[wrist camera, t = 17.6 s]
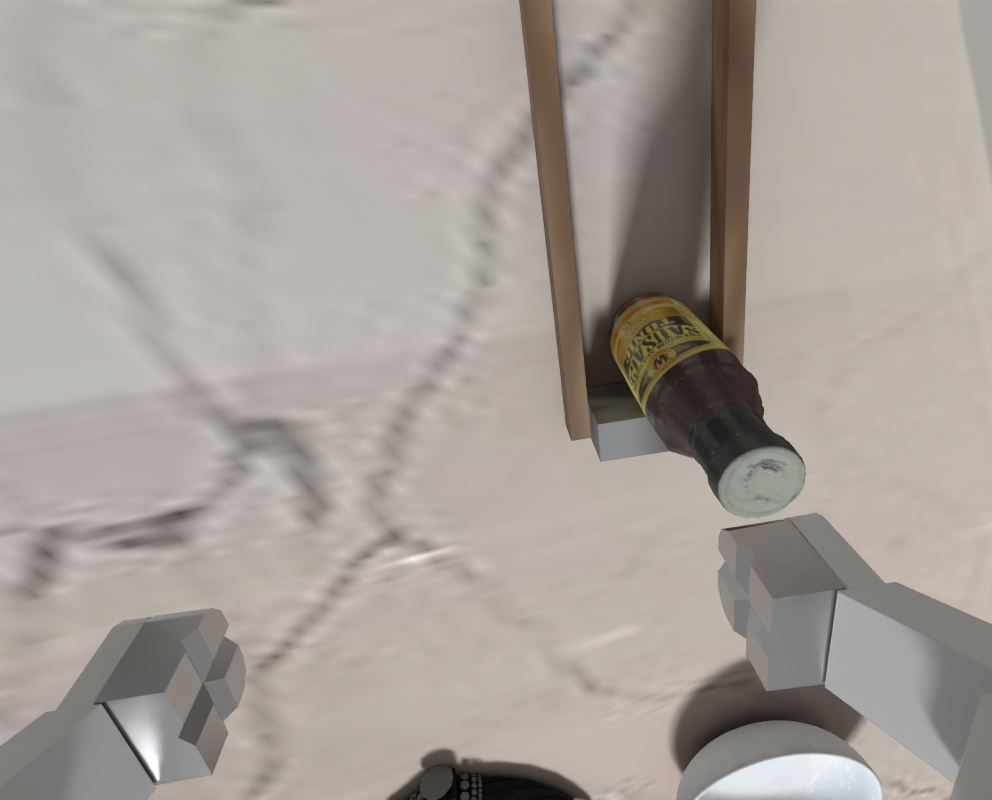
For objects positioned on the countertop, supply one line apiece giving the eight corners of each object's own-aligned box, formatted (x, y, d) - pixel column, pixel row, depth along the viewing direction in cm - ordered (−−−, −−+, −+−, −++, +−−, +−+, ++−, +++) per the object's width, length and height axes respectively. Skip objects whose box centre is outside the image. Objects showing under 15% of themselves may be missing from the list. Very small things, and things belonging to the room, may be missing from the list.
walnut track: (566, 425, 47) (579, 465, 42) (516, -26, 34) (526, -53, 29) (727, 400, 47) (762, 436, 42) (738, -64, 34) (791, -98, 29)
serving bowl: (622, 760, 66) (639, 827, 60) (781, 661, 60) (817, 723, 54) (727, 831, 73) (752, 898, 67) (877, 748, 68) (919, 812, 61)
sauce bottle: (650, 271, 42) (792, 383, 24) (704, 327, 44) (871, 468, 26) (584, 336, 44) (670, 485, 26) (639, 387, 46) (753, 557, 28)
